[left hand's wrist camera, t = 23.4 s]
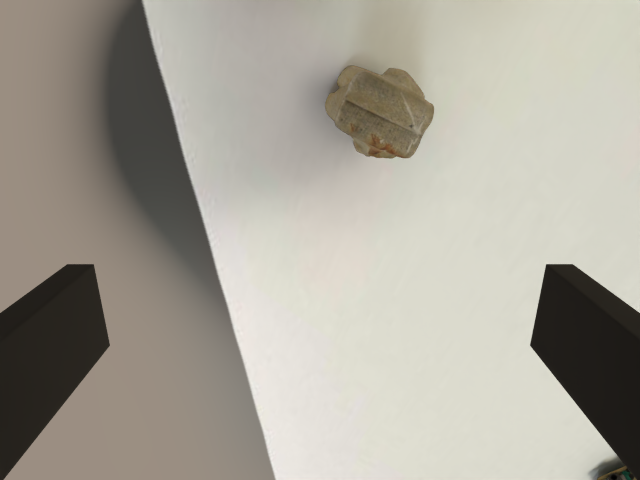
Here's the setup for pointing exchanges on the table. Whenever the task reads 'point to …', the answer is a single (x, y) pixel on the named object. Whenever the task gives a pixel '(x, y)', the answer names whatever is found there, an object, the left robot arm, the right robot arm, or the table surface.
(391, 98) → the sculpture
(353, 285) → the table surface
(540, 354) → the left robot arm
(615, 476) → the spray gun
